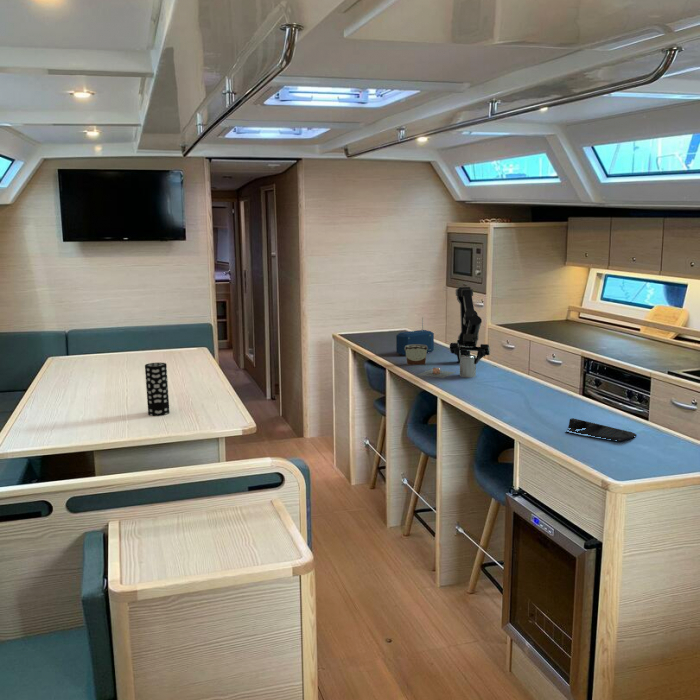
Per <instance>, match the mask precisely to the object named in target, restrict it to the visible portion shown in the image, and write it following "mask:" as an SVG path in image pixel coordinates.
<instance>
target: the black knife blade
mask: <svg viewBox="0 0 700 700" xmlns="http://www.w3.org/2000/svg"><path fill="white" fill-rule="evenodd" d="M568 428H571V429H570V430H569V431H572V432H576V433H581V434H588V435H591V436H595V437H601V438H606V439H611V440H617V441H618V442H621V441H625V440H629V439H628V438H630V439H633V437H634V436H636V437H637V434H636V433H634V432H633V431H627V430H624V429H619V428H616V427H611V426H607V425H603V424H599V423H594V422H591V421H586V420H581V419H578V418H570V419H569V423H568V427H567V429H568ZM582 428H586V429H585V430H584V431H578V432H577V431H575V430H576V429H582ZM634 438H635V437H634Z"/></svg>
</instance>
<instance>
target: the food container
mask: <svg viewBox="0 0 700 700" xmlns="http://www.w3.org/2000/svg"><path fill="white" fill-rule="evenodd" d="M404 350H405V351H406V356H405V358H406V359H405V360H406V366H413V365H415V366H416V365H420V366H421V365H426V363H427V362H426V361H427V354H428V353H427V350H428V347H427V346H426V345H421V344H411V345H406V346H405V348H404Z"/></svg>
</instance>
